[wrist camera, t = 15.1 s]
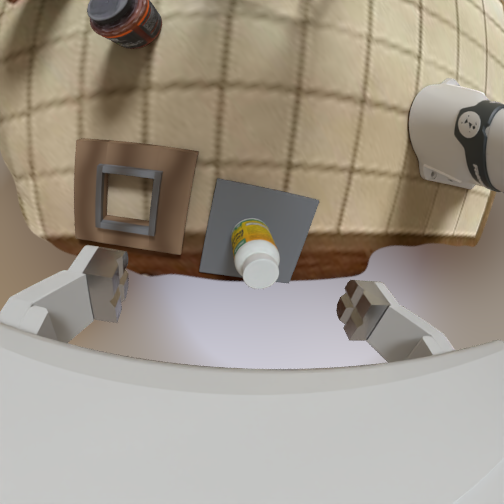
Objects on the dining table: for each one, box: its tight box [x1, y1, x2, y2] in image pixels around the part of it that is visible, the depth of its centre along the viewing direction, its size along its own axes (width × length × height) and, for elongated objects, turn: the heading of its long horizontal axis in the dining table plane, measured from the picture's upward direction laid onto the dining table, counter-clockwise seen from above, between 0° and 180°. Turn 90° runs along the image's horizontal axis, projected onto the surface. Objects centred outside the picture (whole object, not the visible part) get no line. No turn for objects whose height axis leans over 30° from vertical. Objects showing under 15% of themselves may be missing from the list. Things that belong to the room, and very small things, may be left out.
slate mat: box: [199, 178, 319, 283], centre depth 38 cm, size 14×14×1 cm
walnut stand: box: [74, 138, 198, 255], centre depth 32 cm, size 16×14×2 cm
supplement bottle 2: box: [231, 218, 280, 289], centre depth 34 cm, size 5×5×10 cm
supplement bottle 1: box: [87, 0, 162, 49], centre depth 17 cm, size 6×6×11 cm
